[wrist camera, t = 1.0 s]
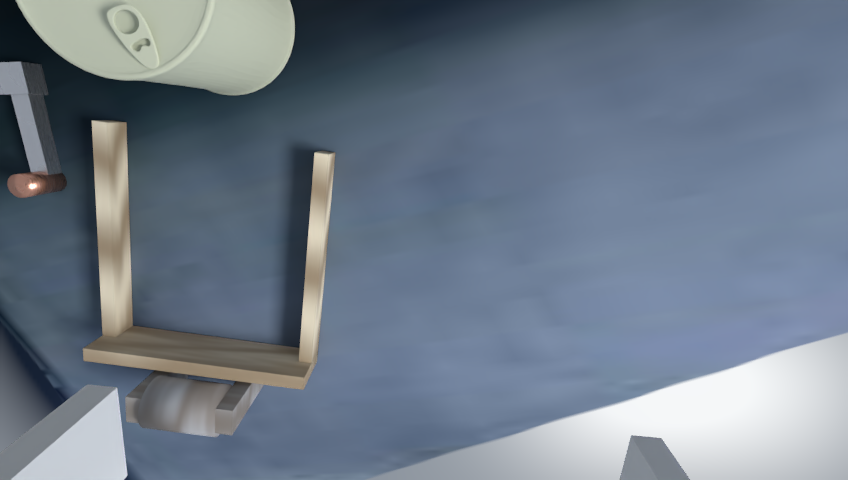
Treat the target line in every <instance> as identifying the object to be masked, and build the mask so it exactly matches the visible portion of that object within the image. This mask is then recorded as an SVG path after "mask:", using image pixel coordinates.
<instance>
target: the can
mask: <svg viewBox="0 0 848 480" xmlns="http://www.w3.org/2000/svg"><path fill="white" fill-rule="evenodd" d="M16 2H17V4H18V6H19V8H20V10H21V11H22V13H23V15H24V17H25V18H26V20H27V21H28V23H29V24H30V25H31V27H32V28H33V29H34V31H35V32H36V33H37V34H38V35H39V36H40V37H41V39H42V40H43V41H44V42H45V43H46V44H47V45H48V46H49V47H51V48H52V49H53V50H54V51H55V52H56V53H58V54H59V55H60V56H62V57H63V58H64V59H66V60H67V61H69V62H70V63H72V64H74V65H75V66H77V67H79V68H81V69H83V70H85V71H87V72H90V73H93V74H95V75H98V76H102V77H106V78H110V79H116V80H140V81H149V82H157V83H165V84H173V85H181V86H188V87H194V88H201V89H207V90H209V91H212V92H215V93H219V94H224V95H243V94H248V93H252V92H255V91H257V90H259V89H261V88H263V87H265V86H266V85H268V84H269V83H271V82H272V81H273V80H274V79H275V78H276V77H277V76H278V75H279V74H280V72H281V71H282V70H283V68H284V67H285V65H286V63H287V61H288V59H289V57H290V54H291V51H292V47H293V43H294V36H295V22H294V14H293V9H292V5H291V2H290V0H16Z"/></svg>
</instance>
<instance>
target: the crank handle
mask: <svg viewBox="0 0 848 480" xmlns="http://www.w3.org/2000/svg"><path fill="white" fill-rule="evenodd" d="M0 95H11V97H12V101H13V105H14V109H15V113H16V116H17V120H18V124H19V128H20V132H21V136H22V139H23V143H24V147H25V151H26V155H27V159H28V162H29V166H30V170H31V172H29V173H21V174H14V175H12V176H10V177H9V179H8V183H7V184H8V188H9V190H10V192H11V193H12V194H13V195H15V196H17V197H20V198H25V197H30V196H35V195H41V194H46V193H51V192H57V191H61V190H63V189H64V188H65V187H66V183H67V181H66V178H65V176H64V175H63V174H62V171H61V167H60V163H59V159H58V155H57V151H56V147H55V143H54V138H53V134H52V130H51V126H50V122H49V118H48V114H47V110H46V105H45V101H44V97H43V95H48V91H47V86H46V82H45V78H44V74H43V70H42V66H41V64H34V63H27V62H0Z"/></svg>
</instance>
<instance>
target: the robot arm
mask: <svg viewBox="0 0 848 480" xmlns="http://www.w3.org/2000/svg"><path fill="white" fill-rule="evenodd" d="M126 476H127V468H126V460H125V451H124V442H123V434H122V425H121V416H120V408H119V399H118V391H117V387H107V386H96V385H86V386H85V387H83V388H82V389H81V390H80V391H78V392H77V393H76V394H74V395H73V396H72V397H71V398H69V399H68V400H67V401H66V402H64V403H63V404H62V405H61V406H59V407H58V408H57V409H55V410H54V411H53V412H52V413H50V414H49V415H48V416H46V417H45V418H44V419H43V420H41V421H40V422H39V423H37V424H36V425H35V426H34V427H32V428H31V429H30V430H29V431H27V432H26V433H25V434H24V435H22V436H21V437H20V438H18V439H17V440H16V441H15V442H13V443H12V444H11V445H10V446H8V447H7V448H6V449H4V450H3V451H2V452H1V453H0V480H124V479H125V478H126ZM620 480H690V479H689V478H688V476H687V475H686V473H685V472H684V470H683V469H682V468H681V466H680V465H679V463H678V462H677V460H676V459H675V458H674V456H673V455H672V453H671V452H670V450H669V449H668V447H667V446H666V444H665V443H664V442H663V440H662V439H661V438H653V437H642V436H631V439H630V442H629V446H628V450H627V454H626V458H625V461H624V465H623V469H622V473H621V476H620Z"/></svg>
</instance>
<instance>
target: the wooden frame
mask: <svg viewBox="0 0 848 480" xmlns="http://www.w3.org/2000/svg"><path fill="white" fill-rule="evenodd" d="M92 137H93V157H94V176H95V196H96V216H97V235H98V255H99V274H100V294H101V313H102V333H103V336H101V337H100V338H98V339H97V340H95V341H93V342H92V343H90V344H89V345H87V346H86V347H84V348H83V358H84V361H89V362H97V363H104V364H112V365H120V366H127V367H135V368H142V369H150V370H155V371H154V372H153V373H151V374H150V375H149V376H148V377H147V378H146V379H145V380H144V381H143V382H141V383H140V384H139V385H138V386H137V387H136V388H135V389H134V390H133V391H132V392H130V393H129V394H128V395H127V396H126V397H125V398H126V422H133V423H139V425H140V426H141V427H142V428H148V429H156V430H164V431H171V432H179V433H187V434H195V435H202V436H210V437H217V436H219V435H220V434H226V435H232V434H233V433H234V431H235V430H236V428H237V426H238V425H239V423H240V422H241V420H242V418H243V417H244V415H245V414H246V412H247V411H248V409H249V407H250V406H251V404H252V403H253V401H254V399H255V398H256V396H257V395H258V393H259V392H260V390H261V388H262V387H263V384H264V385H271V386H279V387H286V388H294V389H302V390H304V388H305V385H306V383H307V381H308V379H309V377H310V375H311V373H312V371H313V368H314V366H315V364H316V362H317V355H318V343H319V332H320V320H321V309H322V298H323V286H324V275H325V264H326V252H327V241H328V230H329V218H330V207H331V196H332V184H333V173H334V161H335V152H328V151H318V152H315V153H314V166H313V179H312V192H311V205H310V218H309V231H308V245H307V258H306V271H305V284H304V297H303V310H302V323H301V337H300V348H296V347H289V346H281V345H274V344H266V343H259V342H251V341H244V340H236V339H229V338H221V337H214V336H206V335H199V334H192V333H184V332H177V331H169V330H162V329H154V328H147V327H139V326H133V318H132V286H131V255H130V223H129V191H128V160H127V128H126V122H119V121H112V120H92ZM188 375H195V376H203V377H211V378H218V379H226V380H233V381H236V382H235V383H234V384H233V386H232V385H230V384H223V383H216V382H208V381H201V380H193V379H187V377H188Z"/></svg>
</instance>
